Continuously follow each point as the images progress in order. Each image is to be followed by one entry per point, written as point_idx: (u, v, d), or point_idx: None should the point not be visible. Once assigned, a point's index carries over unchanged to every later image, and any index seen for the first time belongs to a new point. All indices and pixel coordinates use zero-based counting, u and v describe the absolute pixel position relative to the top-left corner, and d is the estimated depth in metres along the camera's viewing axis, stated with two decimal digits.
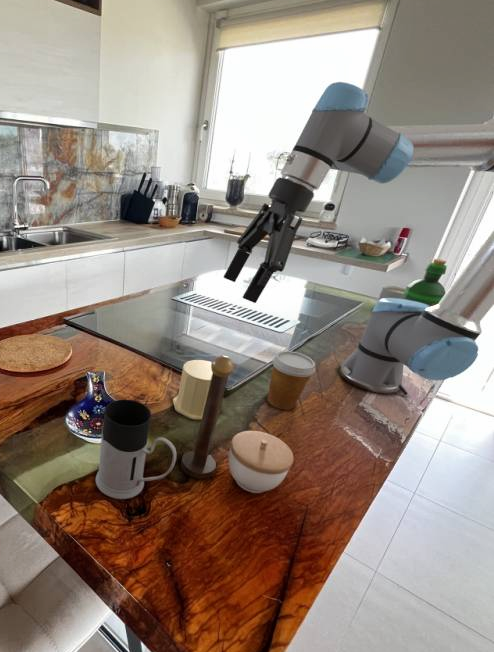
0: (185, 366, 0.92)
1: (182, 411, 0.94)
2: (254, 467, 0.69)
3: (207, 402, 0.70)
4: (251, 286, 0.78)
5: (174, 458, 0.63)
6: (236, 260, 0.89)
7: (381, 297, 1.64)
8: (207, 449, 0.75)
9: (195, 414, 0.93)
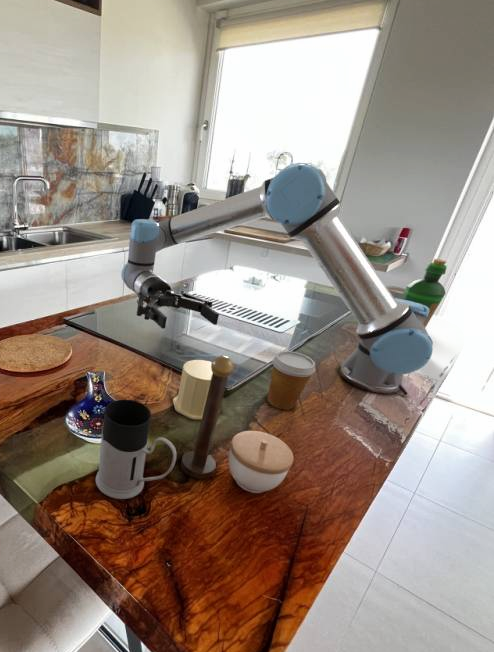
0: (185, 366, 0.92)
1: (182, 411, 0.94)
2: (254, 467, 0.69)
3: (207, 402, 0.70)
4: (157, 323, 0.95)
5: (174, 458, 0.63)
6: (205, 315, 1.00)
7: None
8: (207, 449, 0.75)
9: (195, 414, 0.93)
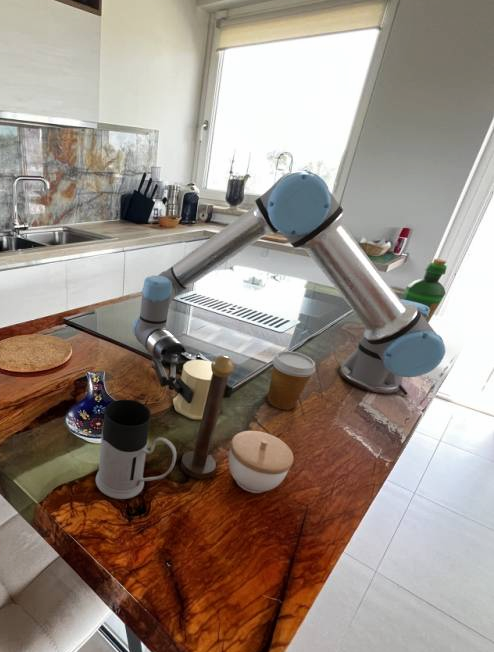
0: (185, 366, 0.92)
1: (182, 411, 0.94)
2: (254, 467, 0.69)
3: (207, 402, 0.70)
4: (182, 396, 0.91)
5: (174, 458, 0.63)
6: None
7: None
8: (207, 449, 0.75)
9: (195, 414, 0.93)
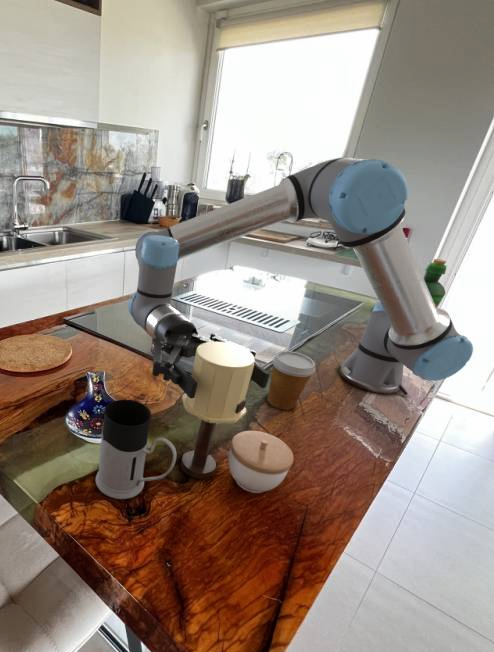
0: (199, 349, 0.67)
1: (195, 412, 0.68)
2: (254, 467, 0.69)
3: None
4: (182, 388, 0.66)
5: (174, 458, 0.63)
6: None
7: None
8: (207, 449, 0.75)
9: (213, 416, 0.67)
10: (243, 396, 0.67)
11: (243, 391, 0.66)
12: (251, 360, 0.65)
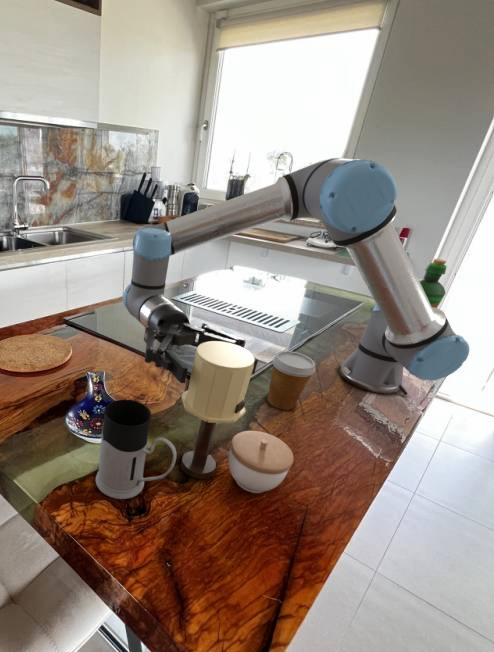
0: (199, 349, 0.67)
1: (194, 411, 0.68)
2: (254, 467, 0.69)
3: None
4: (173, 374, 0.68)
5: (174, 458, 0.63)
6: None
7: None
8: (207, 449, 0.75)
9: (213, 415, 0.67)
10: (242, 396, 0.67)
11: (243, 392, 0.66)
12: (251, 360, 0.65)
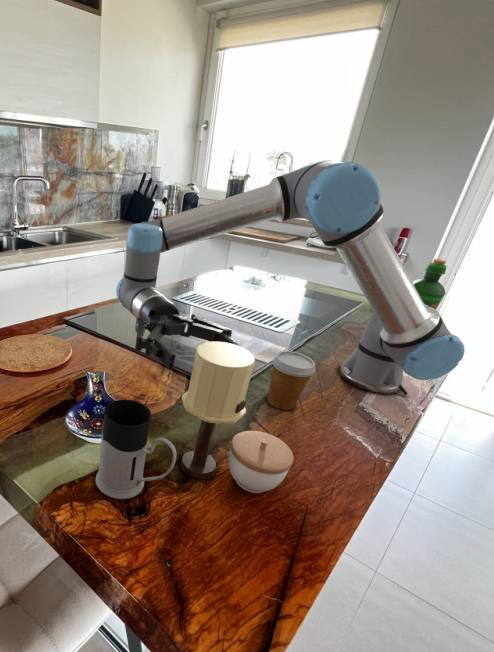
0: (199, 349, 0.67)
1: (195, 412, 0.68)
2: (254, 467, 0.69)
3: None
4: (162, 361, 0.72)
5: (174, 458, 0.63)
6: None
7: None
8: (207, 449, 0.75)
9: (213, 416, 0.67)
10: (243, 396, 0.67)
11: (243, 391, 0.66)
12: (251, 360, 0.65)
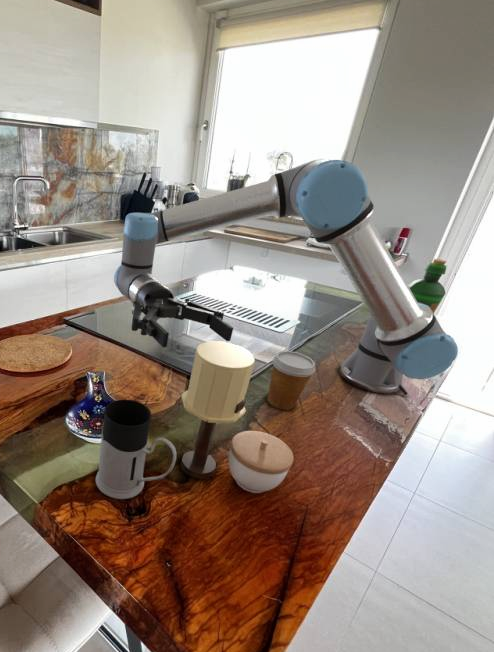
0: (199, 349, 0.67)
1: (194, 411, 0.68)
2: (254, 467, 0.69)
3: None
4: (157, 340, 0.76)
5: (174, 458, 0.63)
6: (215, 329, 0.82)
7: None
8: (207, 449, 0.75)
9: (213, 415, 0.67)
10: (242, 396, 0.67)
11: (243, 392, 0.66)
12: (251, 360, 0.65)
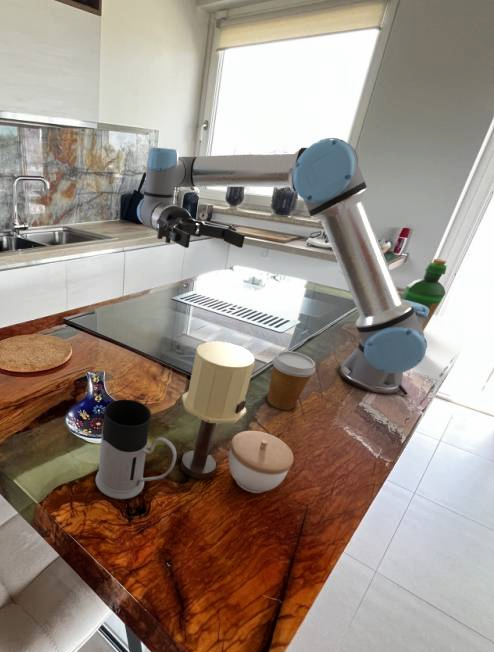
0: (199, 349, 0.67)
1: (195, 412, 0.68)
2: (254, 467, 0.69)
3: None
4: (179, 243, 0.89)
5: (174, 458, 0.63)
6: (229, 240, 0.94)
7: None
8: (207, 449, 0.75)
9: (213, 416, 0.67)
10: (243, 396, 0.67)
11: (243, 391, 0.66)
12: (251, 360, 0.65)
